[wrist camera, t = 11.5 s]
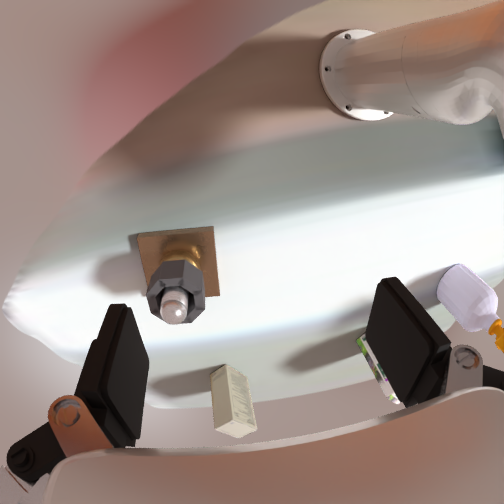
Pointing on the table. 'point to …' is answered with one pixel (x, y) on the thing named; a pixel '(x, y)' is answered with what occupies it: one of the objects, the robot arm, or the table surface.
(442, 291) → the soap bottle
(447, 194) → the table surface
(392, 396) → the syrup box
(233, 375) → the skincare box
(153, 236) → the post stand
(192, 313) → the ring
